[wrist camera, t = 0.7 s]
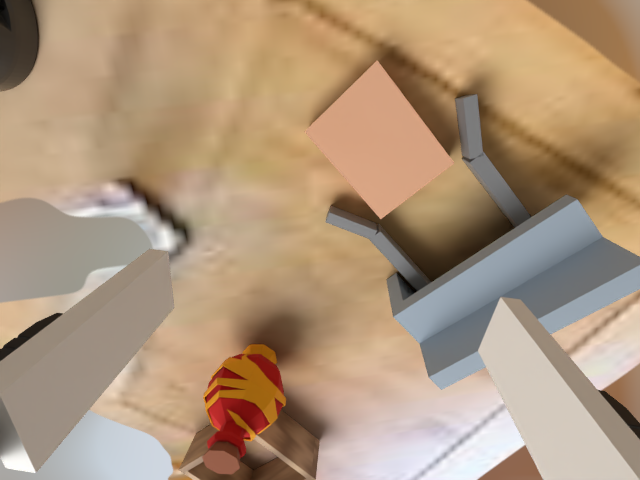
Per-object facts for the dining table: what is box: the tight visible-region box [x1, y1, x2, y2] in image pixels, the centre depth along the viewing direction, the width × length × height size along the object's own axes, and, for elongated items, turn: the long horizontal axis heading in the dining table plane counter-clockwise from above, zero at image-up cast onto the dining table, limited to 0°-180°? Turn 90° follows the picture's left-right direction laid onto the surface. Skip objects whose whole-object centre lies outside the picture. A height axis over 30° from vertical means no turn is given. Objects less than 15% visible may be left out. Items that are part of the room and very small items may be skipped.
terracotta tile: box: [305, 61, 454, 219], centre depth 32 cm, size 12×9×3 cm
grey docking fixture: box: [326, 94, 640, 390], centre depth 30 cm, size 18×19×12 cm
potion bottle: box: [202, 344, 286, 474], centre depth 40 cm, size 10×10×15 cm
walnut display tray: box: [179, 410, 319, 480], centre depth 51 cm, size 14×17×6 cm
